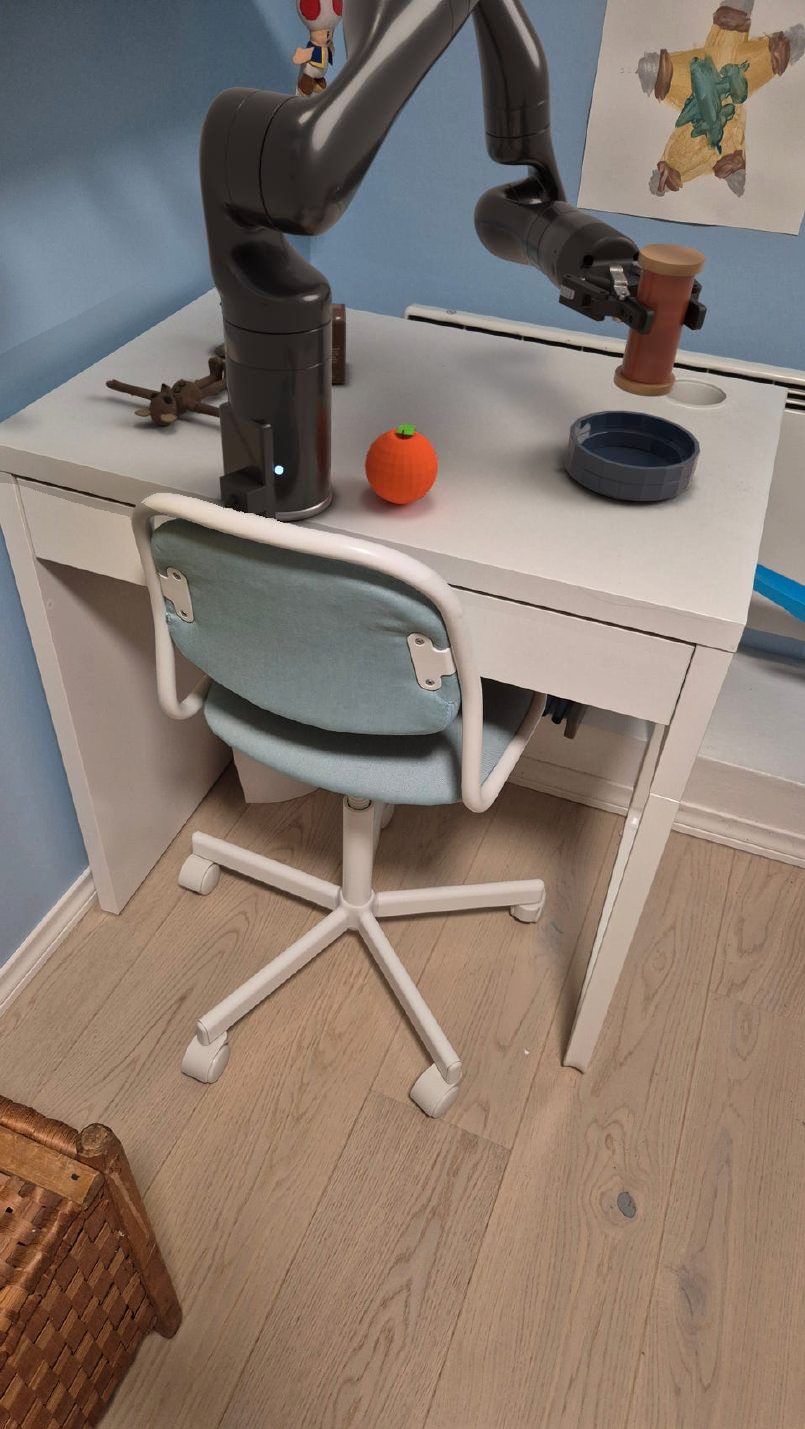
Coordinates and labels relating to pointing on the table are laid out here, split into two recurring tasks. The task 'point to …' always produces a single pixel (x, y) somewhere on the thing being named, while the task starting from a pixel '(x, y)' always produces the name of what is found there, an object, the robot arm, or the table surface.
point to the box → (338, 343)
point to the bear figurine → (179, 395)
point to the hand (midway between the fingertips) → (674, 321)
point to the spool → (659, 318)
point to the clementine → (401, 465)
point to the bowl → (631, 455)
